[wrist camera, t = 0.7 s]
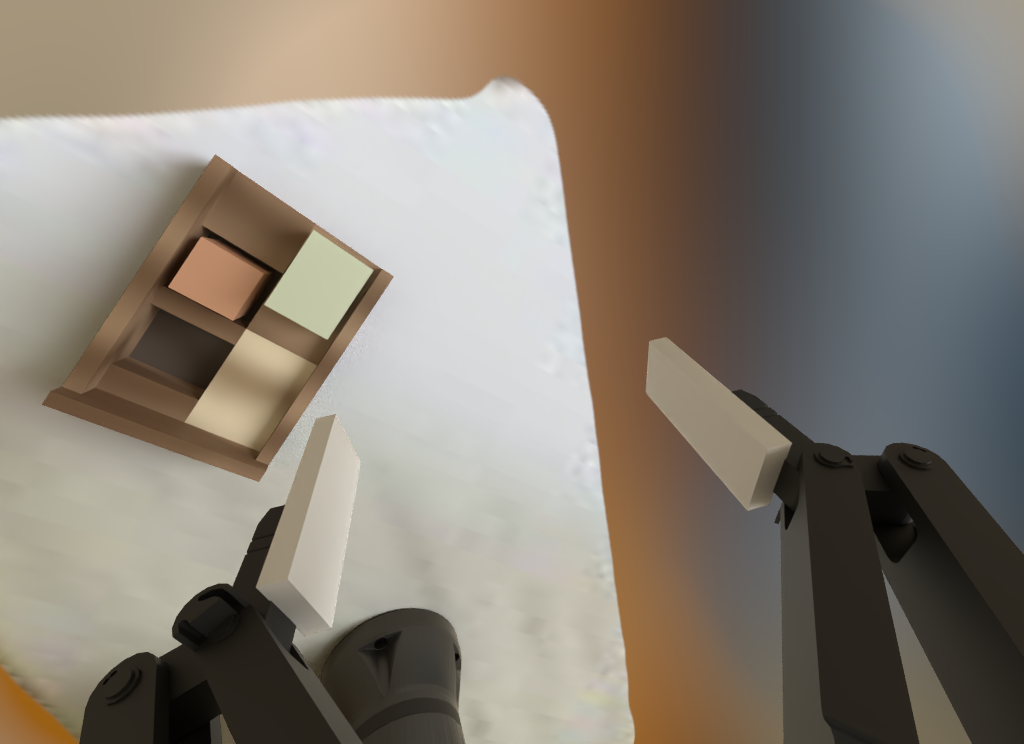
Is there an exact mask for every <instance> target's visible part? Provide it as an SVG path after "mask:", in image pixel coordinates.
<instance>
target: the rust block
mask: <svg viewBox="0 0 1024 744" xmlns="http://www.w3.org/2000/svg"><path fill="white" fill-rule="evenodd" d="M274 273H275V272H273V271H271V270H270V269H268V268H266V267H265V266H263V265H261V264H260V263H258V262H256V261H255V260H253V259H251V258H250V257H248V256H246V255H245V254H243V253H241V252H240V251H238V250H236V249H234V248H233V247H231V246H229V245H228V244H226V243H224V242H223V241H221V240H217V239H211V238H206V237H201V238H200V239H199V241H198V242H197V244H196V245H195V247H194V248H193V250H192V251H191V253H190V254H189V256H188V258H187V259H186V261H185V262H184V264H183V265H182V267H181V268H180V270H179V271H178V273H177V274H176V276H175V277H174V279H173V280H172V282H171V283H170V285H169V286H168V287H169V288H171V289H173V290H175V291H176V292H178V293H180V294H182V295H184V296H186V297H188V298H190V299H192V300H194V301H196V302H198V303H200V304H202V305H203V306H205V307H207V308H209V309H211V310H213V311H215V312H217V313H219V314H221V315H223V316H225V317H227V318H228V319H230V320H232V321H233V320H235V319H238V318H240V317H242V316H245V315H247V314H248V313H249V311H250V310H251V308H252V307H253V305H254V304H255V302H256V301H257V299H258V298H259V296H260V295H261V293H262V291H263V290H264V288H265V287H266V285H267V284H268V282H269V281H270V279H271V278H272V276H273V275H274Z"/></svg>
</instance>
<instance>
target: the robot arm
mask: <svg viewBox="0 0 1024 744" xmlns="http://www.w3.org/2000/svg"><path fill="white" fill-rule="evenodd" d="M646 393H647V395H648V396H649V397H650V398H651V399H652V400H653V402H654V403H655V404H656V405H657V406H658V407H659V408H660V410H661V411H662V412H663V413H664V414H665V415H666V417H667V418H668V419H669V420H670V421H671V422H672V424H673V425H674V426H675V427H676V428H677V430H678V431H679V432H680V433H681V434H682V435H683V436H684V437H685V439H686V440H687V441H688V442H689V443H690V445H691V446H692V447H693V448H694V449H695V450H696V452H697V453H698V454H699V455H700V456H701V457H702V458H703V460H704V461H705V462H706V463H707V464H708V465H709V466H710V468H711V469H712V470H713V471H714V472H715V474H716V475H717V476H718V477H719V478H720V479H721V481H722V482H723V483H724V484H725V485H726V486H727V488H728V489H729V490H730V491H731V492H732V493H733V494H734V495H735V497H736V498H737V499H738V500H739V501H740V503H741V504H742V505H743V506H744V507H745V508H746V510H747V511H748V510H751V509H755V508H758V507H762V506H766V505H769V503H770V501H771V498H772V495H773V493H775V494H776V495H777V496H778V497H779V498H780V499H781V500H782V501H783V502H782V504H781V506H780V509H779V511H778V514H777V516H776V519H775V523H777V524H778V523H779V521H780V523H781V587H782V588H781V591H782V592H781V593H782V658H783V660H782V663H783V728H784V729H783V732H784V744H919V740H918V735H917V731H916V726H915V721H914V717H913V712H912V708H911V703H910V698H909V694H908V689H907V685H906V680H905V675H904V670H903V666H902V661H901V656H900V652H899V647H898V643H897V638H896V633H895V629H894V624H893V620H892V615H891V610H890V606H889V601H888V596H887V592H886V588H885V582H884V578H883V573H882V570H883V572H884V574H885V576H886V578H887V580H888V582H889V584H890V586H891V588H892V590H893V592H894V594H895V595H896V597H897V599H898V601H899V603H900V605H901V607H902V609H903V611H904V613H905V615H906V617H907V619H908V621H909V623H910V625H911V626H912V628H913V630H914V632H915V634H916V636H917V638H918V640H919V642H920V644H921V646H922V648H923V649H924V652H925V654H926V656H927V657H928V659H929V661H930V663H931V665H932V667H933V669H934V671H935V673H936V675H937V677H938V679H939V680H940V682H941V684H942V686H943V688H944V690H945V692H946V694H947V696H948V698H949V700H950V702H951V704H952V706H953V708H954V710H955V711H956V714H957V716H958V717H959V719H960V721H961V723H962V725H963V727H964V729H965V731H966V733H967V735H968V737H969V739H970V741H971V742H972V744H1024V555H1023V554H1022V552H1021V551H1020V550H1019V549H1018V547H1017V546H1016V545H1015V544H1014V543H1013V541H1012V540H1011V539H1010V538H1009V537H1008V536H1007V534H1006V533H1005V532H1004V531H1003V529H1002V528H1001V527H1000V526H999V525H998V524H997V522H996V521H995V520H994V519H993V518H992V516H991V515H990V514H989V513H988V512H987V510H986V509H985V508H984V507H983V506H982V505H981V503H980V502H979V501H978V500H977V499H976V497H975V496H974V495H973V494H972V493H971V491H970V490H969V489H968V488H967V487H966V486H965V484H964V483H963V482H962V481H961V480H960V478H959V477H958V476H957V475H956V474H955V472H954V471H953V470H952V469H951V468H950V466H949V465H948V464H947V463H946V462H945V461H944V460H943V459H941V458H940V457H939V456H938V455H937V454H935V453H933V452H931V451H930V450H928V449H925V448H922V447H920V446H917V445H913V444H907V443H893V444H890V445H888V446H886V448H885V450H884V451H883V453H882V455H881V456H863V455H859V456H857V455H851V454H850V453H848V452H847V451H845V450H843V449H841V448H839V447H837V446H833V445H830V444H824V443H814V442H813V441H812V440H810V439H809V438H808V437H807V436H805V435H804V434H803V433H801V432H800V431H799V430H798V429H797V428H795V427H794V426H793V425H791V424H790V423H789V422H788V421H786V420H785V419H784V418H783V417H781V416H780V415H777V413H776V412H775V411H774V410H773V409H771V408H768V406H767V405H766V404H765V403H764V402H762V401H761V400H760V399H759V398H757V397H756V396H754V395H752V394H750V393H747V392H745V391H743V390H737V391H733V392H731V391H730V390H728V389H727V388H726V387H725V386H724V385H722V384H721V383H720V382H718V380H716V379H715V378H714V377H713V376H712V375H710V374H709V373H708V372H707V371H706V370H704V369H703V368H702V367H701V366H700V365H699V364H697V363H696V362H695V361H694V360H693V359H691V358H690V357H689V356H688V355H687V354H686V353H684V352H683V351H682V350H681V349H680V348H678V347H677V346H676V345H675V344H674V343H672V342H671V341H670V340H669V339H668V338H666V337H665V338H661V339H656V340H652V341H650V342H649V354H648V368H647V383H646ZM360 465H361V462H360V460H359V458H358V456H357V454H356V452H355V450H354V448H353V446H352V444H351V443H350V441H349V439H348V437H347V435H346V433H345V431H344V429H343V427H342V425H341V423H340V421H339V419H338V417H337V416H336V414H334V415H330V416H326V417H321V418H317V419H316V420H315V423H314V426H313V428H312V431H311V434H310V437H309V440H308V442H307V445H306V448H305V451H304V454H303V456H302V459H301V462H300V465H299V468H298V470H297V473H296V476H295V479H294V482H293V484H292V487H291V490H290V493H289V496H288V499H287V501H286V504H285V505H283V506H279V507H275V508H271V509H270V510H269V511H268V512H267V513H266V515H265V516H264V517H263V518H262V520H261V521H260V522H259V524H258V526H257V528H256V531H255V533H254V536H253V538H252V542H251V543H250V545H249V548H248V550H247V555H245V558H244V560H243V562H242V565H241V567H240V570H239V572H238V575H237V577H236V580H235V582H234V585H233V587H232V586H230V585H229V584H216V585H213V586H211V587H208V588H206V589H205V590H203V591H201V592H200V593H198V594H197V595H195V596H194V597H193V598H192V599H191V600H190V601H189V602H188V603H187V604H186V605H185V606H184V607H183V609H182V610H181V611H180V613H179V614H178V616H177V617H176V619H175V622H174V625H173V627H172V635H173V638H175V639H176V640H177V641H179V642H180V643H182V645H181V646H179V647H177V648H175V649H174V650H172V651H170V652H168V653H166V654H165V655H163V656H161V657H159V658H158V657H156V656H155V655H153V654H151V653H149V652H144V653H137V654H135V655H133V656H131V657H129V658H127V659H125V660H124V661H122V662H121V663H120V664H118V665H117V666H116V667H114V668H113V669H112V670H111V671H110V672H109V673H108V674H107V675H106V676H105V677H104V678H103V679H102V680H101V681H100V682H99V684H98V685H97V687H96V688H95V690H94V691H93V693H92V694H91V696H90V698H89V700H88V703H87V706H86V709H85V714H84V720H83V725H82V731H81V737H80V743H79V744H222V736H221V723H220V714H223V717H224V719H225V721H226V723H227V725H228V728H229V730H230V732H231V734H232V736H233V739H234V741H235V743H236V744H465V740H464V735H463V731H462V727H461V723H460V718H459V713H458V706H459V691H460V675H461V651H460V647H459V643H458V639H457V636H456V632H455V630H454V628H453V626H452V625H451V624H450V622H449V621H448V620H447V619H445V618H444V617H443V616H441V615H439V614H437V613H435V612H432V611H428V610H422V609H405V610H398V611H393V612H390V613H386V614H383V615H381V616H378V617H376V618H374V619H371V620H369V621H368V622H366V623H364V624H362V625H361V626H359V627H358V628H356V629H355V630H354V631H352V632H351V633H350V634H349V635H347V636H346V637H345V638H344V639H343V640H342V641H341V642H340V643H339V644H338V645H337V647H336V648H335V649H334V650H333V652H332V653H331V655H330V656H329V658H328V660H327V662H326V664H325V666H324V669H323V672H322V677H321V682H320V680H319V679H318V678H317V676H316V675H315V673H314V672H313V670H312V669H311V667H310V666H309V664H308V663H307V662H306V660H305V659H304V657H303V656H302V654H301V653H300V651H299V650H298V648H297V647H296V646H295V645H294V644H293V643H292V641H293V637H294V633H295V629H296V628H297V629H298V630H299V631H300V632H301V633H302V634H303V635H304V636H308V635H311V634H315V633H318V632H322V631H325V630H329V629H332V625H333V620H334V614H335V608H336V602H337V597H338V591H339V585H340V580H341V574H342V568H343V562H344V557H345V551H346V545H347V539H348V534H349V528H350V522H351V517H352V511H353V505H354V499H355V494H356V488H357V482H358V476H359V471H360Z"/></svg>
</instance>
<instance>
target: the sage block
mask: <svg viewBox="0 0 1024 744" xmlns="http://www.w3.org/2000/svg"><path fill="white" fill-rule="evenodd" d="M372 272H373V270H372V269H371V268H369V267H368V266H366V265H365V264H364V263H362V262H361V261H359V260H358V259H356V258H355V257H353V256H352V255H350V254H349V253H347V252H346V251H344V250H343V249H341V248H340V247H338V246H337V245H335V244H334V243H332V242H331V241H330V240H328V239H327V238H325V237H324V236H322V235H321V234H319V233H318V232H316V231H315V230H313V232H312V233H311V235H310V236H309V238H308V239H307V241H306V242H305V244H304V245H303V247H302V248H301V250H300V251H299V253H298V254H297V256H296V257H295V259H294V260H293V262H292V263H291V265H290V266H289V268H288V269H287V271H286V272H285V274H284V275H283V277H282V278H281V280H280V281H279V283H278V284H277V286H276V287H275V289H274V290H273V292H272V294H271V295H270V297H269V298H268V300H267V301H266V303H265V304H264V305H265V306H267V307H269V308H271V309H273V310H274V311H276V312H278V313H280V314H282V315H283V316H285V317H287V318H289V319H291V320H292V321H294V322H296V323H298V324H300V325H301V326H303V327H305V328H307V329H309V330H310V331H312V332H314V333H316V334H318V335H319V336H321V337H323V338H325V339H327V340H328V338H329V337H330V335H331V334H332V332H333V331H334V329H335V328H336V326H337V325H338V323H339V322H340V320H341V319H342V317H343V316H344V314H345V313H346V311H347V310H348V308H349V307H350V305H351V304H352V302H353V301H354V299H355V298H356V296H357V295H358V293H359V292H360V290H361V289H362V287H363V286H364V284H365V283H366V281H367V280H368V278H369V277H370V275H371V274H372Z"/></svg>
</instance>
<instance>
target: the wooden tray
mask: <svg viewBox="0 0 1024 744" xmlns="http://www.w3.org/2000/svg"><path fill="white" fill-rule="evenodd" d="M313 230H315V231H316V232H318V233H319V234H321V235H322V236H324V237H325V238H327V239H328V240H330V241H331V242H332V243H334V244H335V245H337V246H338V247H340V248H341V249H343V250H344V251H346V252H347V253H349V254H350V255H352V256H353V257H355V258H356V259H358V260H359V261H361V262H362V263H364V264H365V265H366V266H368V267H369V268H371V269H372V270H373V272H372V274H371V275H370V277H369V278H368V280H367V281H366V283H365V284H364V286H363V287H362V289H361V290H360V292H359V293H358V295H357V296H356V298H355V299H354V301H353V302H352V304H351V305H350V307H349V308H348V310H347V311H346V313H345V314H344V316H343V317H342V319H341V320H340V322H339V323H338V325H337V326H336V328H335V329H334V331H333V332H332V334H331V335H330V337H329V338H328V340H327V339H325V338H323V337H321V336H319V335H318V334H316V333H314V332H312V331H310V330H309V329H307V328H305V327H303V326H301V325H300V324H298V323H296V322H294V321H292V320H291V319H289V318H287V317H285V316H283V315H282V314H280V313H278V312H276V311H274V310H273V309H271V308H269V307H267V306H265V305H264V304H265V303H266V301H267V300H268V298H269V297H270V295H271V294H272V292H273V290H274V289H275V287H276V286H277V284H278V283H279V281H280V280H281V278H282V277H283V275H284V274H285V272H286V271H287V269H288V268H289V266H290V265H291V263H292V262H293V260H294V259H295V257H296V256H297V254H298V253H299V251H300V250H301V248H302V247H303V245H304V244H305V242H306V241H307V239H308V238H309V236H310V235H311V233H312V232H313ZM201 237H206V238H211V239H217V240H221V241H223V242H224V243H226V244H228V245H229V246H231V247H233V248H234V249H236V250H238V251H240V252H241V253H243V254H245V255H246V256H248V257H250V258H251V259H253V260H255V261H256V262H258V263H260V264H261V265H263V266H265V267H266V268H268V269H270V270H271V271H273V272H275V273H274V275H273V276H272V278H271V279H270V281H269V282H268V284H267V285H266V287H265V288H264V290H263V291H262V293H261V295H260V296H259V298H258V299H257V301H256V302H255V304H254V305H253V307H252V308H251V310H250V311H249V313H248V314H247V315H245V316H242V317H240V318H238V319H235V320H233V321H232V320H230V319H228V318H227V317H225V316H223V315H221V314H219V313H217V312H215V311H213V310H211V309H209V308H207V307H205V306H203V305H202V304H200V303H198V302H196V301H194V300H192V299H190V298H188V297H186V296H184V295H182V294H180V293H178V292H176V291H175V290H173V289H171V288H169V287H168V286H169V285H170V283H171V282H172V280H173V279H174V277H175V276H176V274H177V273H178V271H179V270H180V268H181V267H182V265H183V264H184V262H185V261H186V259H187V258H188V256H189V254H190V253H191V251H192V250H193V248H194V247H195V245H196V244H197V242H198V241H199V239H200V238H201ZM392 278H393V276H392V275H390V274H389V273H387V272H386V271H385V270H383V269H381V268H379V267H378V266H376V265H375V264H373V263H372V262H371V261H369V260H368V259H366V258H365V257H363V256H362V255H360V254H359V253H357V252H356V251H354V250H353V249H352V248H350V247H349V246H347V245H346V244H344V243H343V242H341V241H340V240H338V239H337V238H335V237H334V236H333V235H331V234H330V233H328V232H327V231H325V230H324V229H322V228H321V227H319V226H318V225H316V224H315V223H314V222H312V221H311V220H309V219H308V218H306V217H305V216H303V215H302V214H300V213H299V212H297V211H296V210H295V209H293V208H292V207H290V206H289V205H287V204H286V203H284V202H283V201H281V200H280V199H278V198H277V197H276V196H274V195H273V194H271V193H270V192H268V191H267V190H265V189H264V188H262V187H261V186H259V185H258V184H257V183H255V182H254V181H252V180H251V179H249V178H248V177H246V176H245V175H243V174H242V173H241V172H239V171H238V170H236V169H235V168H234V167H233V166H231V165H230V164H228V163H227V162H225V161H224V160H223V159H221V158H220V157H218V156H217V155H214V157H213V158H212V160H211V161H210V163H209V164H208V166H207V167H206V169H205V170H204V172H203V174H202V175H201V177H200V178H199V180H198V181H197V183H196V184H195V186H194V187H193V189H192V190H191V192H190V193H189V195H188V196H187V198H186V199H185V201H184V202H183V204H182V205H181V207H180V208H179V210H178V211H177V213H176V214H175V216H174V217H173V219H172V221H171V222H170V224H169V225H168V227H167V228H166V230H165V231H164V233H163V234H162V236H161V237H160V239H159V240H158V242H157V243H156V245H155V246H154V248H153V249H152V251H151V252H150V254H149V255H148V257H147V258H146V260H145V261H144V263H143V265H142V266H141V268H140V269H139V271H138V272H137V274H136V275H135V277H134V278H133V280H132V281H131V283H130V284H129V286H128V287H127V289H126V290H125V292H124V293H123V295H122V296H121V298H120V299H119V301H118V302H117V304H116V305H115V307H114V308H113V310H112V312H111V313H110V315H109V316H108V318H107V319H106V321H105V322H104V324H103V325H102V327H101V328H100V330H99V331H98V333H97V334H96V336H95V337H94V339H93V340H92V342H91V343H90V345H89V346H88V348H87V349H86V351H85V352H84V354H83V356H82V357H81V359H80V360H79V362H78V363H77V365H76V366H75V368H74V369H73V371H72V372H71V374H70V375H69V377H68V378H67V380H66V381H65V383H64V384H63V386H62V387H60V388H58V389H55V390H53V391H51V392H50V393H49V395H48V396H47V398H46V399H45V401H44V402H43V404H42V405H44V406H47V407H50V408H53V409H56V410H59V411H61V412H64V413H67V414H70V415H73V416H75V417H78V418H81V419H84V420H87V421H89V422H92V423H95V424H98V425H101V426H103V427H106V428H109V429H112V430H115V431H117V432H120V433H123V434H126V435H129V436H132V437H134V438H137V439H140V440H143V441H146V442H148V443H151V444H154V445H157V446H160V447H162V448H165V449H168V450H171V451H174V452H176V453H179V454H182V455H185V456H188V457H190V458H193V459H196V460H199V461H202V462H205V463H207V464H210V465H213V466H216V467H219V468H221V469H224V470H227V471H230V472H233V473H235V474H238V475H241V476H244V477H247V478H249V479H252V480H255V481H258V482H259V481H260V479H261V478H262V476H263V475H264V473H265V472H266V470H267V467H268V465H269V464H270V462H271V461H272V459H273V458H274V456H275V455H276V453H277V452H278V450H279V449H280V447H281V446H282V444H283V443H284V441H285V440H286V438H287V437H288V435H289V434H290V432H291V431H292V429H293V427H294V426H295V424H296V423H297V421H298V420H299V418H300V417H301V415H302V414H303V412H304V411H305V409H306V408H307V406H308V405H309V403H310V402H311V400H312V399H313V397H314V396H315V394H316V393H317V391H318V390H319V388H320V387H321V385H322V384H323V382H324V381H325V379H326V378H327V376H328V375H329V373H330V372H331V370H332V369H333V367H334V366H335V364H336V363H337V361H338V360H339V358H340V357H341V355H342V354H343V352H344V351H345V349H346V348H347V346H348V345H349V343H350V342H351V340H352V339H353V337H354V336H355V334H356V333H357V331H358V330H359V328H360V327H361V325H362V324H363V322H364V321H365V319H366V318H367V316H368V315H369V313H370V312H371V310H372V309H373V307H374V306H375V304H376V303H377V301H378V300H379V298H380V297H381V295H382V294H383V292H384V291H385V289H386V288H387V286H388V285H389V283H390V281H391V280H392Z"/></svg>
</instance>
